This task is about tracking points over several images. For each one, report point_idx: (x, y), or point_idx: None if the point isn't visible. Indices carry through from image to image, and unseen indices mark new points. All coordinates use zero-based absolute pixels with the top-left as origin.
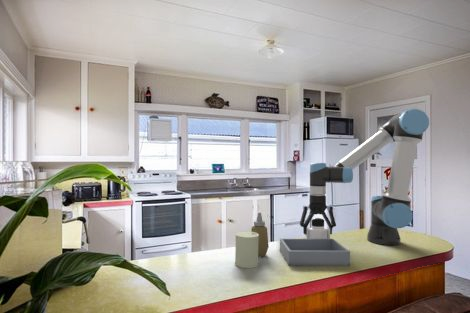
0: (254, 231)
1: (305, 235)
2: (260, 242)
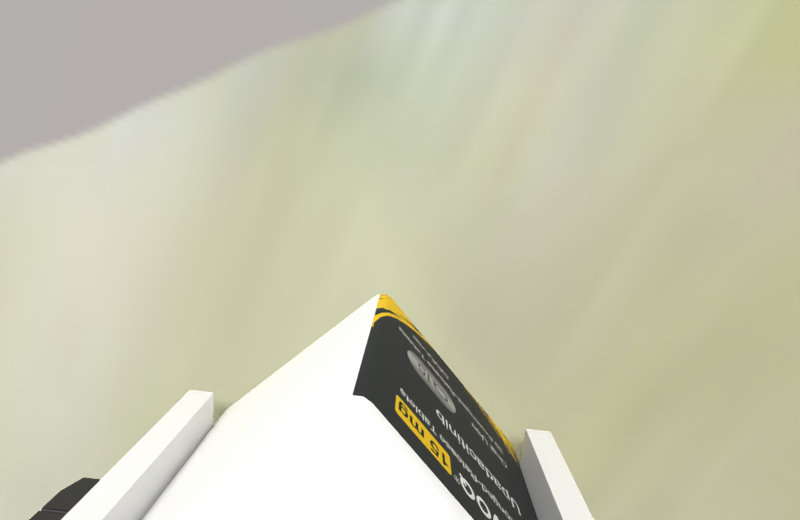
0: None
1: (145, 442)
2: None
